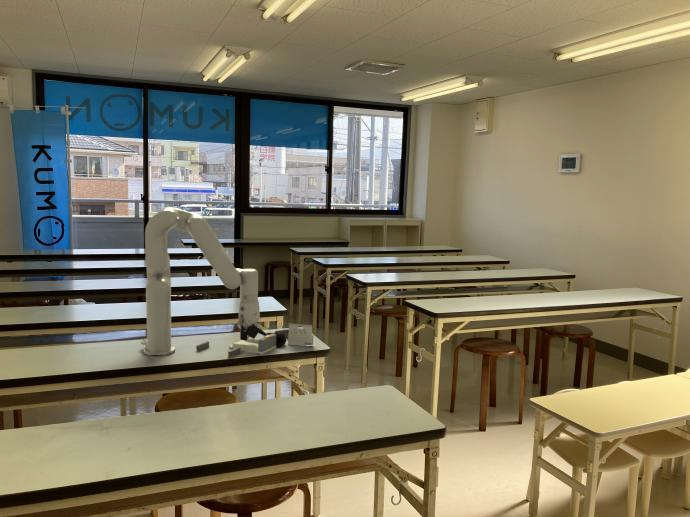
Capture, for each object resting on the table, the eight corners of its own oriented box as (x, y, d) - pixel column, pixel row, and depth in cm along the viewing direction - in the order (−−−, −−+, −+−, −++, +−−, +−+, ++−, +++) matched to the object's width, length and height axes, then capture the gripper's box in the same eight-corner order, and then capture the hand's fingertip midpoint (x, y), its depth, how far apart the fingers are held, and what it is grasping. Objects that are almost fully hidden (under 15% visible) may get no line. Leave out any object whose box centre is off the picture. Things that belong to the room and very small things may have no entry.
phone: (288, 329, 279) (304, 335, 267) (288, 331, 279) (304, 338, 267) (273, 331, 274) (290, 337, 262) (273, 333, 274) (290, 340, 262)
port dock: (228, 348, 248) (228, 333, 247) (243, 341, 258) (243, 327, 257) (262, 354, 241) (262, 339, 240) (276, 347, 251) (276, 333, 250)
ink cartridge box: (289, 343, 258) (289, 322, 257) (313, 345, 256) (314, 324, 255) (287, 345, 255) (288, 323, 254) (312, 347, 253) (312, 325, 252)
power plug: (273, 338, 250) (251, 324, 245) (263, 353, 249) (240, 338, 245) (270, 334, 255) (248, 320, 250) (260, 349, 254) (238, 335, 250)
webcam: (286, 345, 256) (287, 332, 255) (279, 348, 250) (279, 336, 249) (269, 342, 259) (269, 329, 259) (261, 345, 254) (261, 332, 253)
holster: (196, 350, 243) (196, 345, 242) (206, 346, 249) (206, 341, 249) (230, 357, 236) (230, 351, 235) (240, 353, 242) (240, 347, 241)
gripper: (244, 302, 238) (244, 344, 240) (267, 295, 253) (266, 334, 256) (229, 300, 241) (229, 341, 243) (252, 293, 256) (252, 332, 259)
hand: (248, 337), depth 250 cm, fingers closed on power plug, 6 cm apart
